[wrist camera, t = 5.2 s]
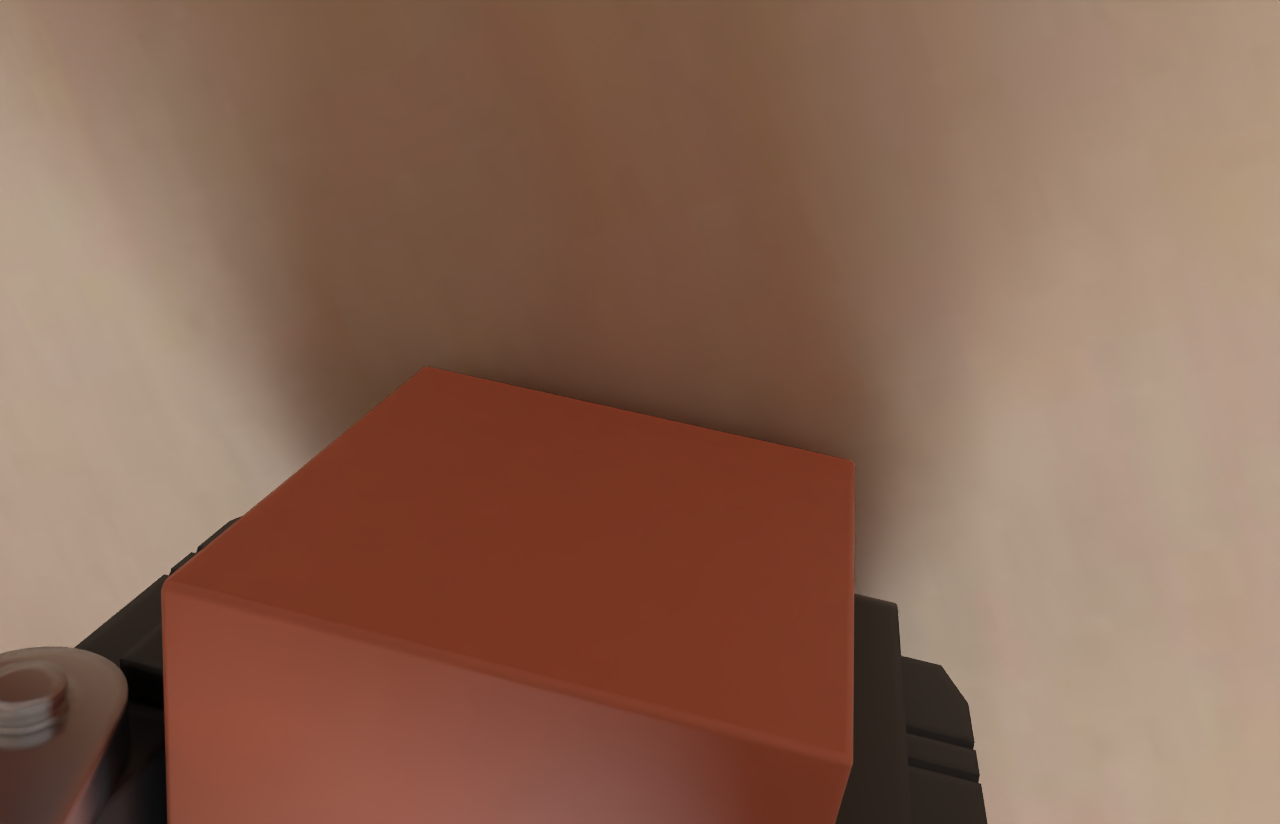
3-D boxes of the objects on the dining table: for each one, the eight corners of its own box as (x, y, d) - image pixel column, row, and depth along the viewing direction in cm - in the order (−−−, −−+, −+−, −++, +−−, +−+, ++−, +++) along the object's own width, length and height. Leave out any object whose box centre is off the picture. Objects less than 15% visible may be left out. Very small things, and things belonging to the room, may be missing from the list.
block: (397, 710, 12) (168, 1055, 8) (424, 362, 11) (156, 581, 6) (765, 808, 12) (716, 1227, 8) (856, 458, 10) (855, 760, 6)
